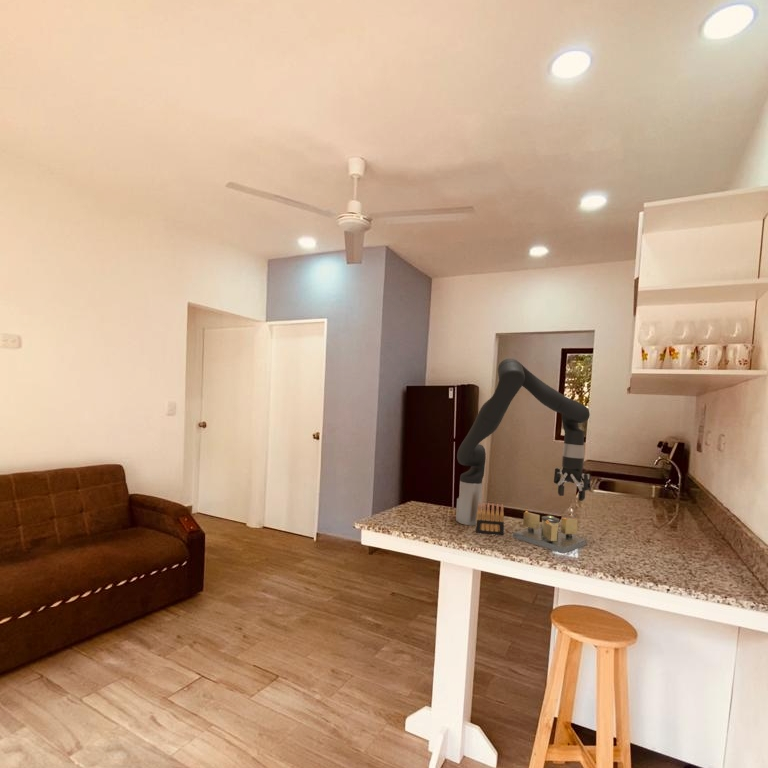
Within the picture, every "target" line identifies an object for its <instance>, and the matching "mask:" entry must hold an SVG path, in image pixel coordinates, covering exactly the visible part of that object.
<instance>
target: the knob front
mask: <svg viewBox="0 0 768 768" xmlns="http://www.w3.org/2000/svg"><path fill="white" fill-rule="evenodd" d="M543 536H544V537H546V538H547V539H546V541H547V542H549V543H553V541H557V526H556V525H554V524H552V523H551V522H549V521H548V520H546V522H544V527H543Z"/></svg>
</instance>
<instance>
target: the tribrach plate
mask: <svg viewBox="0 0 768 768" xmlns="http://www.w3.org/2000/svg"><path fill="white" fill-rule="evenodd" d="M546 520H548V521H549V522H551V523H552V524H554V525H556V526H557V541H553V543H549V542H547V541H546V539H547V538H546V537H544V536H543V527H544V522H546ZM559 524H560V518H557V517H555V516H553V515H545V516H541V526H539V529H534V531H529V530H528V528H525V529H521V530H517V531H513V532H512V538H513V539H517V540H519V541H523V542H526V543H529V544H532V545H536V546H538V547H541V546H542V547H541V548H545V549H549V550H552V551H554V550H555V551H554V552H557V551H558V552H557V553H561V554H566V553H568V552H571V551H574V550H576V549H579V548H583V547H585V546H587V545H588V544H587V541H588V540H587V539H586V538H582V537H580V536H575V535H572V537H567V536H566V534H563V533H561V531H559V529H560V527H559V526H560V525H559Z"/></svg>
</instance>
